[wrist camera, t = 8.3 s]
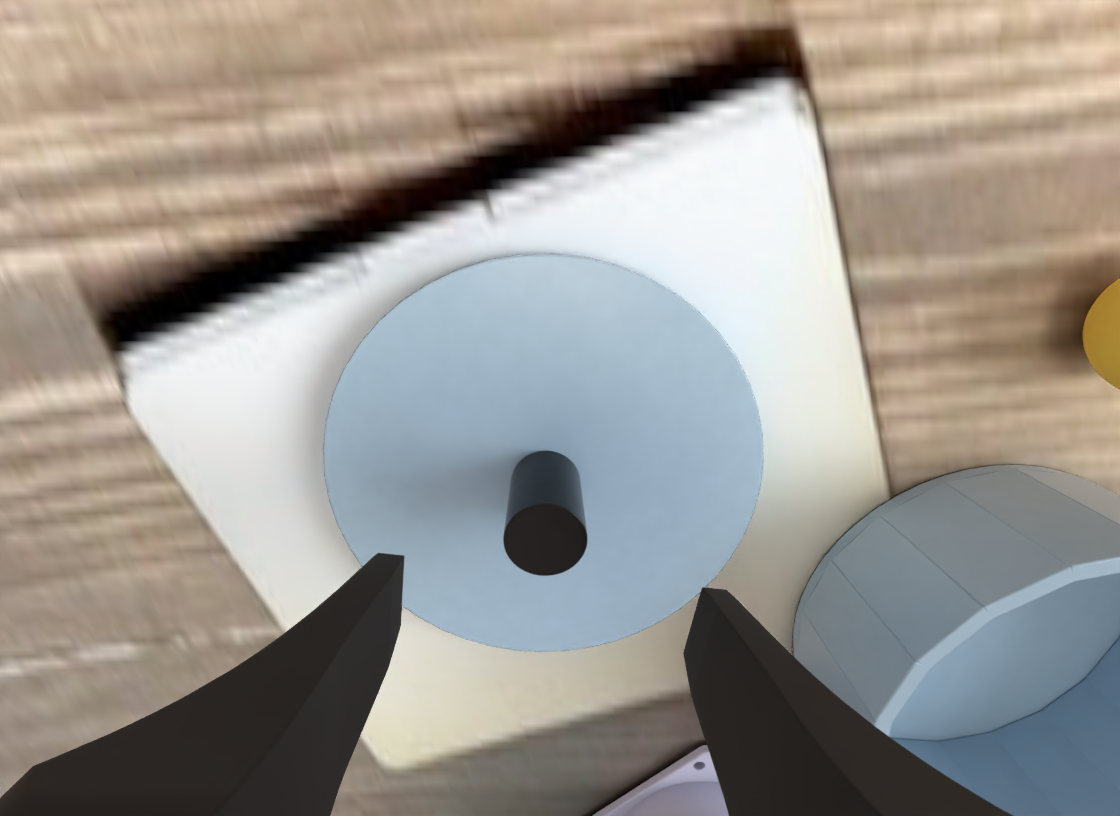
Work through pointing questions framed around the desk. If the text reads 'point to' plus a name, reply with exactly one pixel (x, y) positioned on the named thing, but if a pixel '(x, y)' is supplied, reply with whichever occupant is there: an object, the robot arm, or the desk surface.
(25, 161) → the desk surface
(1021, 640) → the pot
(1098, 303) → the ball
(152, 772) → the robot arm
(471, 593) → the lid
